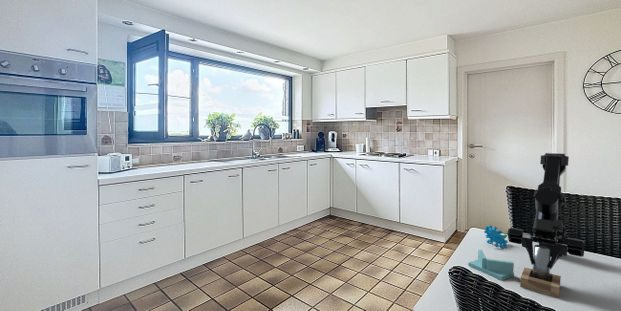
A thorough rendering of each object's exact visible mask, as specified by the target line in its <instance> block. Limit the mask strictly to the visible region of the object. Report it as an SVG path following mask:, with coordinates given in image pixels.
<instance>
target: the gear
mask: <svg viewBox="0 0 621 311" xmlns="http://www.w3.org/2000/svg"><path fill="white" fill-rule="evenodd" d="M497 230H498V228H497V226H493V225H490V224H489V225H488V226H485V227H484V231H483V233H485V238H486V239H487V240H486V243H487V244H493V243H494V244H493V246H494V247H495V248H498V247H499V248H500V249H503V248H506V247H507V246H508V243H509V240H508V239H507V238H508V234H503V231H502V230H501V229H500V230H498V231H497Z"/></svg>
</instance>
